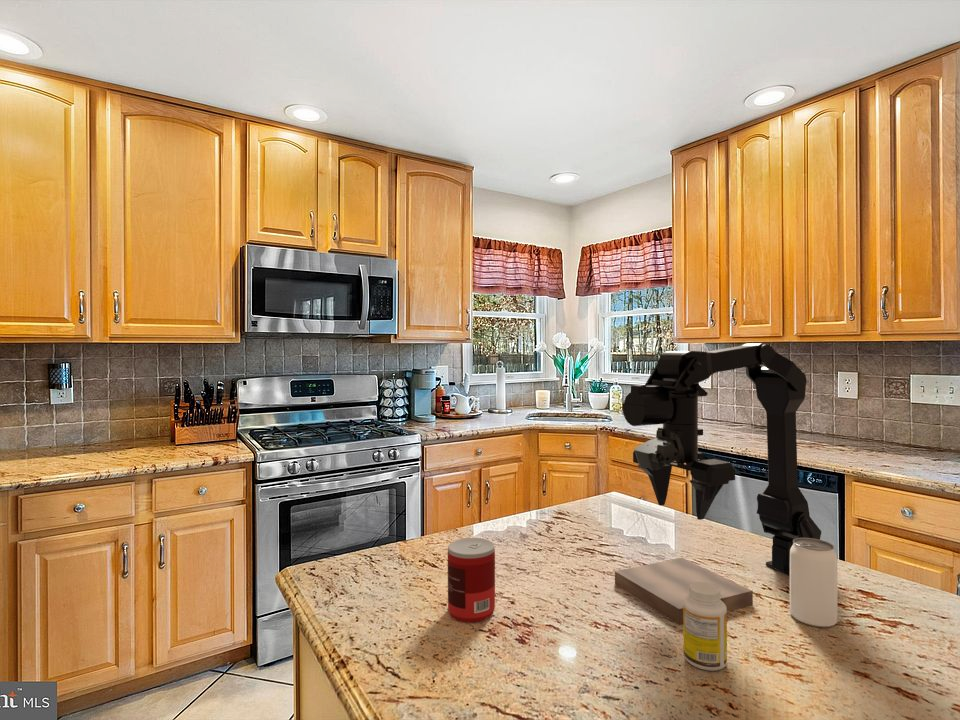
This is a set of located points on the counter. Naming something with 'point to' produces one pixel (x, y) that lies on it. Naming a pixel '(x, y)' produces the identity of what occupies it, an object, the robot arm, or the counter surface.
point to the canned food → (471, 579)
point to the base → (677, 586)
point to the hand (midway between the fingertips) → (680, 511)
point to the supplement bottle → (705, 627)
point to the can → (813, 582)
